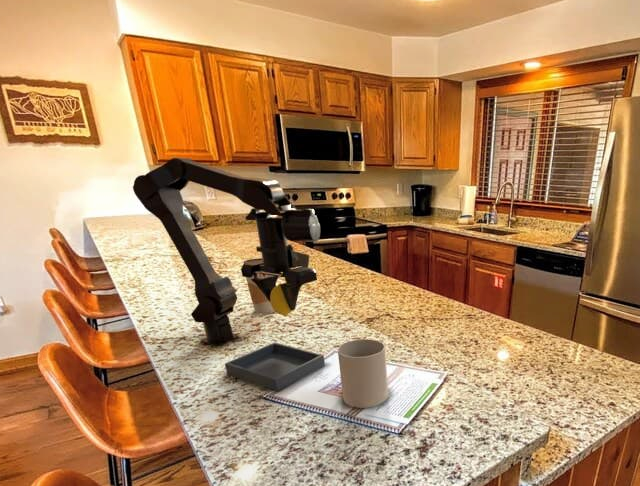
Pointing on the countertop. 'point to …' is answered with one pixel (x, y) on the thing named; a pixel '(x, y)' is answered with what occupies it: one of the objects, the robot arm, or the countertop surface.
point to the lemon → (279, 301)
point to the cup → (363, 372)
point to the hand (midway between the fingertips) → (284, 308)
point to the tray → (275, 365)
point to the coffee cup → (258, 294)
